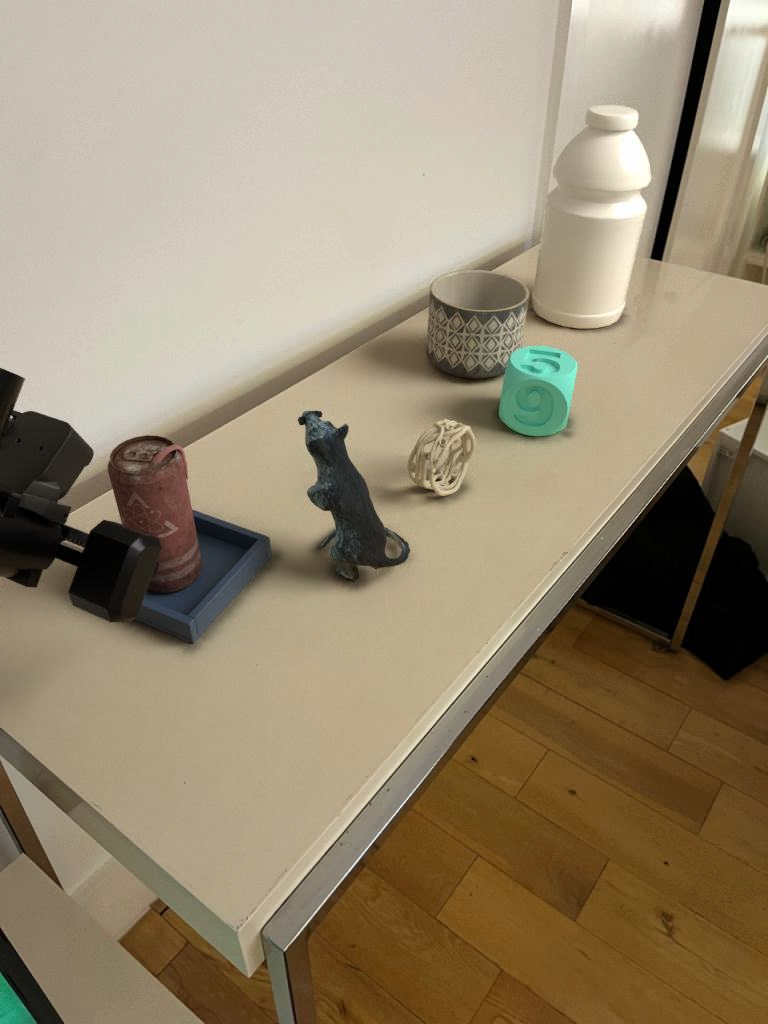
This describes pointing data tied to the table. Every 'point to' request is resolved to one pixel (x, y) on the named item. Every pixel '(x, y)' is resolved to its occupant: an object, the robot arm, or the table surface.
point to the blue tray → (208, 579)
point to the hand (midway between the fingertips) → (110, 550)
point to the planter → (475, 322)
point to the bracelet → (455, 433)
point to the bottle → (593, 222)
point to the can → (158, 506)
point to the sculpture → (346, 502)
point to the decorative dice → (537, 390)
